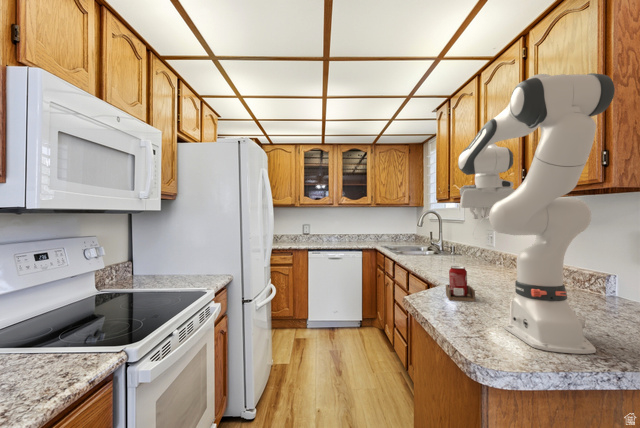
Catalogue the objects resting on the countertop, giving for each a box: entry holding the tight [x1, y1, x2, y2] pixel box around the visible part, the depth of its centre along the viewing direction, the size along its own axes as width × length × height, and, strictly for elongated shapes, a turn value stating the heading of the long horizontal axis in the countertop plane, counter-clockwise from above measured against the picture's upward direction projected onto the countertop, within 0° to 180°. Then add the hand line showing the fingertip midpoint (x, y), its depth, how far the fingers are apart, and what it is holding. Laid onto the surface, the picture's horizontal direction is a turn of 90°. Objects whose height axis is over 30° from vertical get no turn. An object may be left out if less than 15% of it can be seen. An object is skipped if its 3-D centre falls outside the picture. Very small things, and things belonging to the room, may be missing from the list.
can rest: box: [445, 284, 476, 302], centre depth 130 cm, size 10×10×4 cm
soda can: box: [448, 265, 468, 297], centre depth 130 cm, size 7×7×12 cm
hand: (488, 218), depth 125 cm, fingers open, 8 cm apart
